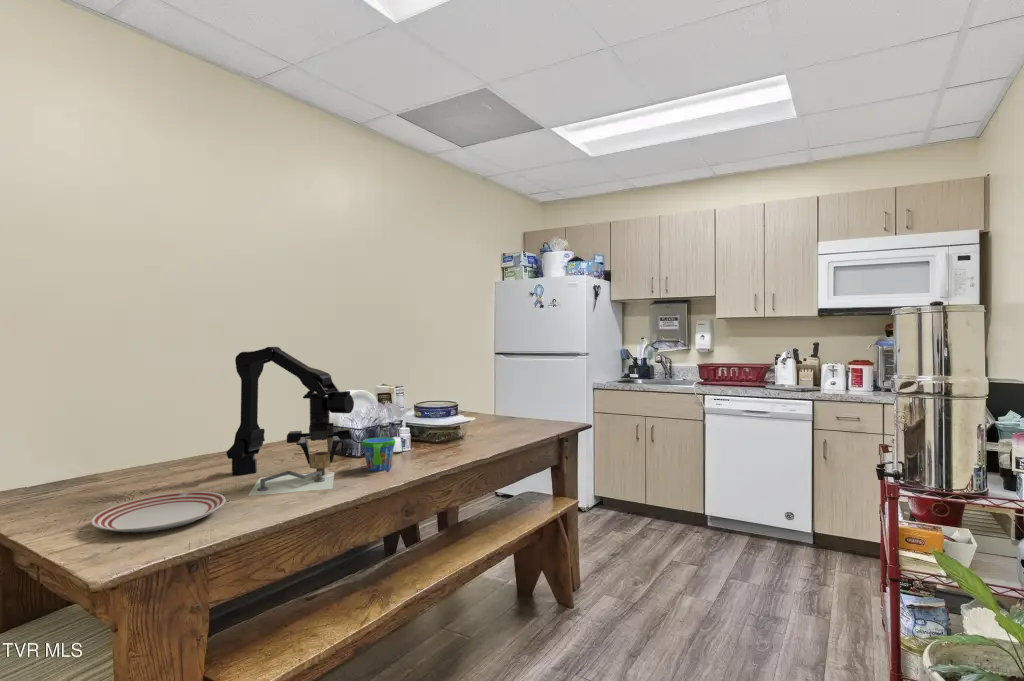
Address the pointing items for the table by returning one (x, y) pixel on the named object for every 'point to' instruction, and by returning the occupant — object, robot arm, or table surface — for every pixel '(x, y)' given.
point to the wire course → (291, 483)
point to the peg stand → (324, 474)
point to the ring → (320, 460)
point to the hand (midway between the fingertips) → (320, 463)
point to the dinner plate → (158, 512)
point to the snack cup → (379, 453)
